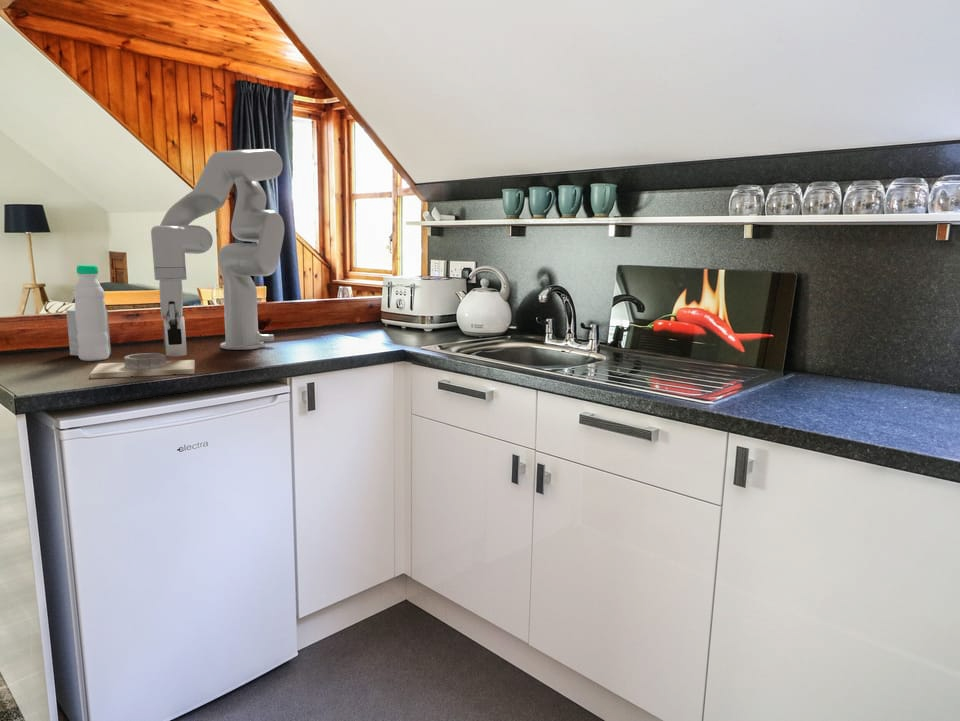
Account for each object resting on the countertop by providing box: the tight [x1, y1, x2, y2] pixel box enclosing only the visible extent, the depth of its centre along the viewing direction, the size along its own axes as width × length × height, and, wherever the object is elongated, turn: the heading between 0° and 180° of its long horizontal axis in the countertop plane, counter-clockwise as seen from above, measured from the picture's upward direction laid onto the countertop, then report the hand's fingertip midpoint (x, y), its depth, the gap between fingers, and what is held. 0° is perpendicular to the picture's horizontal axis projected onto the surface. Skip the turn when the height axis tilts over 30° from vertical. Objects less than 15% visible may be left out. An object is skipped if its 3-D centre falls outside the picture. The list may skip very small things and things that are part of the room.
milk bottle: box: [73, 264, 110, 362], centre depth 171 cm, size 7×7×25 cm
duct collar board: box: [89, 352, 196, 379], centre depth 159 cm, size 22×13×4 cm, turn 113°
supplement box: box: [65, 308, 112, 357], centre depth 178 cm, size 7×7×13 cm
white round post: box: [162, 316, 188, 357], centre depth 171 cm, size 5×5×10 cm
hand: (175, 341), depth 171 cm, fingers closed on white round post, 5 cm apart
